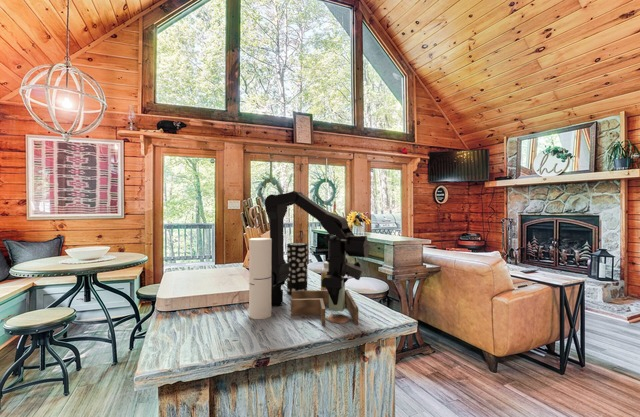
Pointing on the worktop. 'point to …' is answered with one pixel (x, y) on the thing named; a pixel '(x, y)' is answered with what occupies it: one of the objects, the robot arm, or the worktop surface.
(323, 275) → the supplement bottle
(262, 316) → the cylindrical container
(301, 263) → the white-spotted black cylinder
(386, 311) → the worktop surface
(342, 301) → the block
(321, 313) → the channel
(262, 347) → the worktop surface
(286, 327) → the worktop surface
